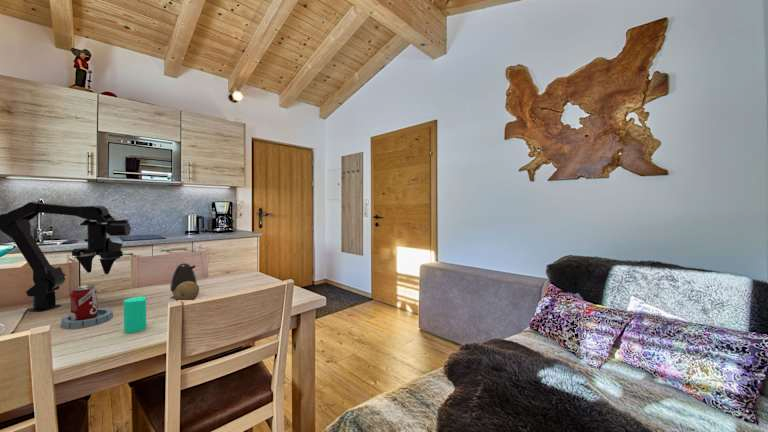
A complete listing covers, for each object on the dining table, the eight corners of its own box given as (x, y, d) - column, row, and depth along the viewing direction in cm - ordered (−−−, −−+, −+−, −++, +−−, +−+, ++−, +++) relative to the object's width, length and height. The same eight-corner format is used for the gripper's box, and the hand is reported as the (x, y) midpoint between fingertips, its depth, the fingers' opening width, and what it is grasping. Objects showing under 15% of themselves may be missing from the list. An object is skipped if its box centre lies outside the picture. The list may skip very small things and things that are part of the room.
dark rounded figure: (187, 299, 131) (187, 266, 131) (164, 299, 132) (164, 265, 131) (202, 292, 142) (202, 261, 141) (180, 292, 142) (180, 260, 141)
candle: (127, 334, 98) (127, 298, 97) (120, 329, 101) (120, 295, 100) (149, 328, 103) (149, 294, 102) (142, 323, 106) (142, 291, 105)
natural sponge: (181, 309, 120) (180, 285, 119) (168, 305, 124) (168, 282, 123) (203, 303, 128) (203, 280, 127) (191, 299, 132) (191, 277, 131)
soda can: (70, 325, 101) (69, 291, 101) (71, 319, 106) (70, 286, 105) (97, 320, 106) (97, 287, 105) (97, 314, 111) (97, 283, 110)
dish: (50, 326, 102) (50, 320, 102) (94, 312, 114) (94, 307, 114) (80, 330, 99) (80, 324, 99) (121, 316, 112) (121, 310, 112)
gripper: (135, 235, 128) (136, 270, 129) (101, 233, 131) (101, 267, 132) (107, 238, 117) (107, 276, 118) (70, 235, 121) (71, 273, 121)
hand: (98, 273), depth 123 cm, fingers open, 9 cm apart
